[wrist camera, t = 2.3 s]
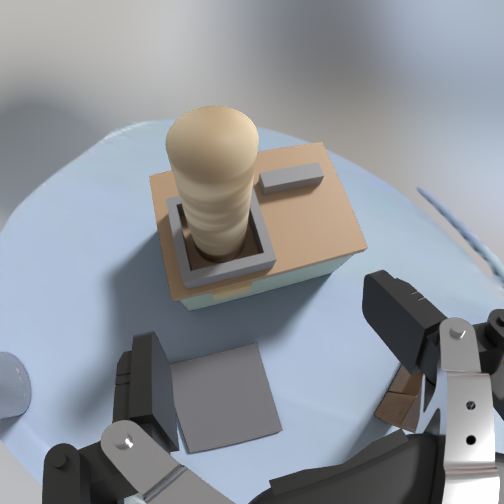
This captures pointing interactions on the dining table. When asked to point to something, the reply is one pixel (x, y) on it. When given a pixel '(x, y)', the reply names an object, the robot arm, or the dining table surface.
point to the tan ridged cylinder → (214, 177)
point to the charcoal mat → (223, 398)
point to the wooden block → (403, 401)
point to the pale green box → (264, 230)
